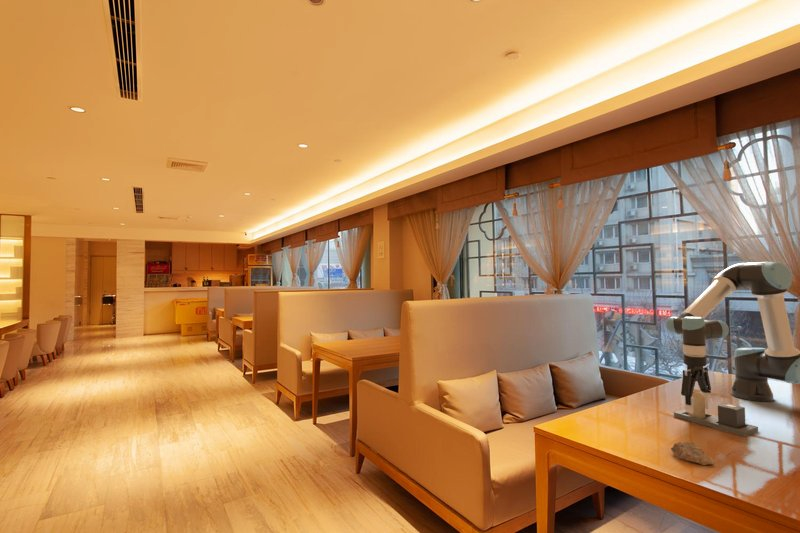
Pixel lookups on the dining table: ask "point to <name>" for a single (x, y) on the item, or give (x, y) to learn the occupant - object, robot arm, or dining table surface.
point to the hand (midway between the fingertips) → (697, 410)
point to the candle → (698, 405)
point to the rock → (691, 453)
